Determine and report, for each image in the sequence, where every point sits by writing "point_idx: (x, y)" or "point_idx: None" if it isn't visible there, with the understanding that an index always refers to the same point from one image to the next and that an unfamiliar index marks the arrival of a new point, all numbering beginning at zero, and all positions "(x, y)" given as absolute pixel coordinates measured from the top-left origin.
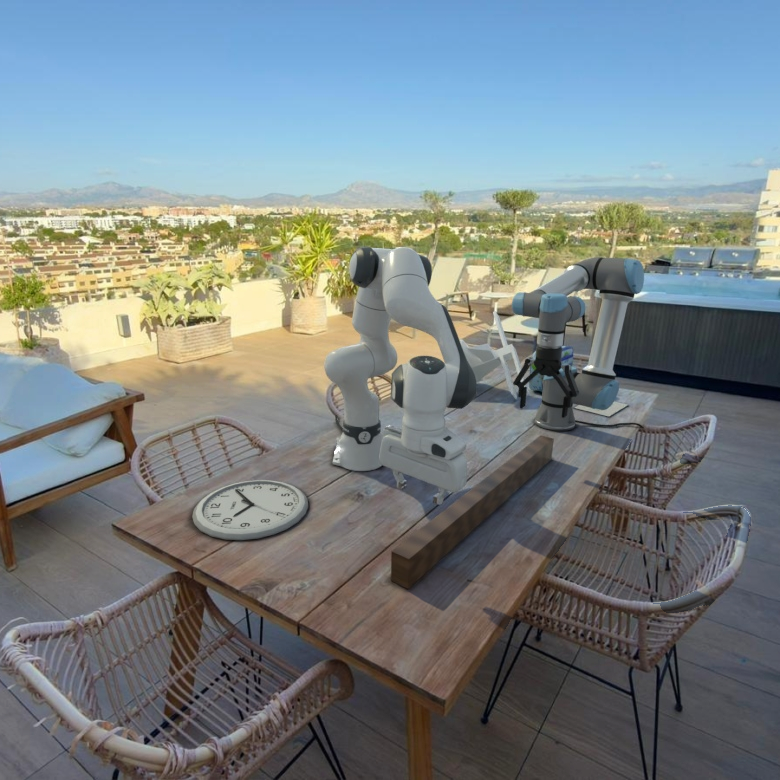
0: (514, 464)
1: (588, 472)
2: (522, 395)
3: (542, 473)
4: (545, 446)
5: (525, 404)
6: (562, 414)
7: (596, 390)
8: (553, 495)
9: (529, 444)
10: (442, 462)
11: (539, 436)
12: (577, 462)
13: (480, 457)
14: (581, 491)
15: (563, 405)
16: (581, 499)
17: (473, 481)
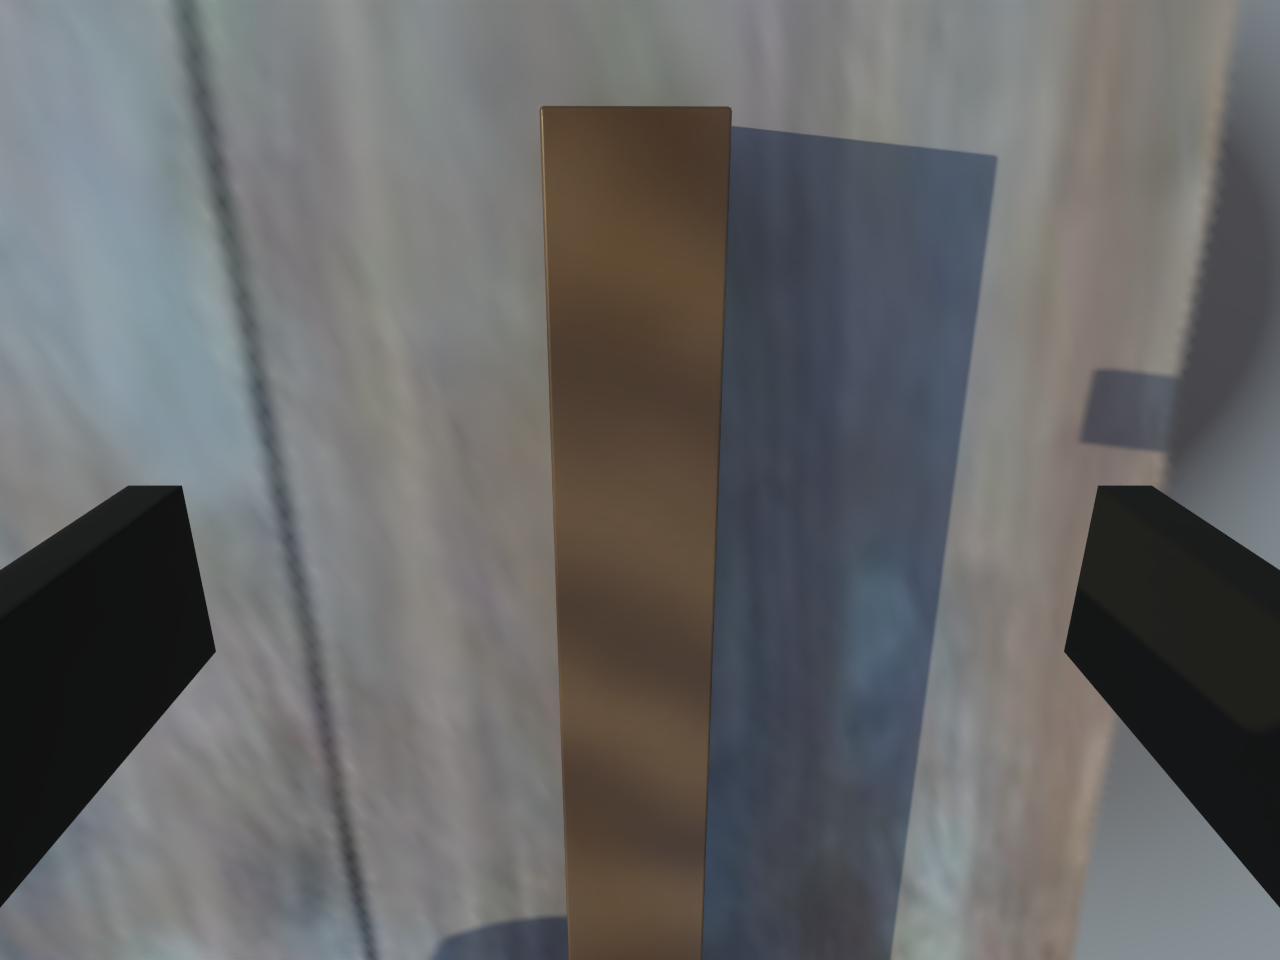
0: (646, 957)
1: (1096, 195)
2: (4, 876)
3: (742, 480)
4: (719, 403)
5: (160, 501)
6: (1107, 690)
7: None
8: (921, 747)
9: (561, 496)
10: None
11: (547, 165)
12: (959, 15)
13: None
14: None
15: (1242, 845)
16: None
17: (396, 876)
